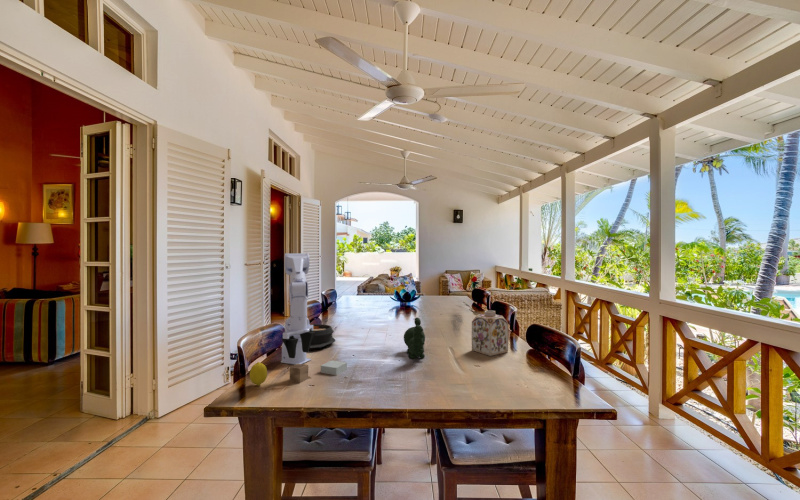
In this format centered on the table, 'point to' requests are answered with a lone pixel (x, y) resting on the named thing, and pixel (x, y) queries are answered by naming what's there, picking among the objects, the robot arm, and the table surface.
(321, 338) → the casserole
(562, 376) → the table surface
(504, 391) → the table surface
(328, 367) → the grey block
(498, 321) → the decorative jar
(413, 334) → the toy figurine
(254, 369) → the lemon
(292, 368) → the walnut block
